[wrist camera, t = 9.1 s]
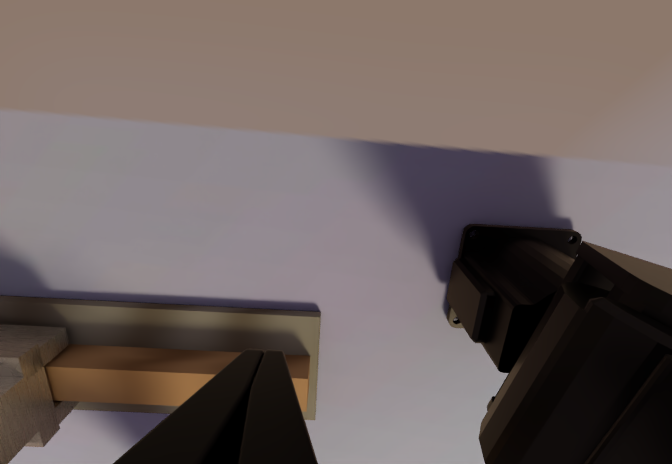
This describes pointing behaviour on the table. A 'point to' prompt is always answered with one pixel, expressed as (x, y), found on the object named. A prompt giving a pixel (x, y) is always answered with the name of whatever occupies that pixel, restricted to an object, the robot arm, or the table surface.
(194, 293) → the table surface
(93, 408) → the rail
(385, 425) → the table surface
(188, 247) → the table surface
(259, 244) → the table surface
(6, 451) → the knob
